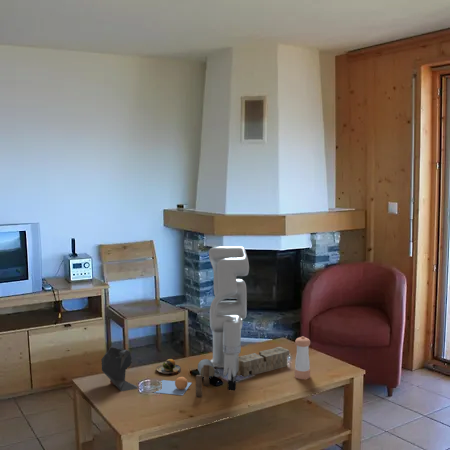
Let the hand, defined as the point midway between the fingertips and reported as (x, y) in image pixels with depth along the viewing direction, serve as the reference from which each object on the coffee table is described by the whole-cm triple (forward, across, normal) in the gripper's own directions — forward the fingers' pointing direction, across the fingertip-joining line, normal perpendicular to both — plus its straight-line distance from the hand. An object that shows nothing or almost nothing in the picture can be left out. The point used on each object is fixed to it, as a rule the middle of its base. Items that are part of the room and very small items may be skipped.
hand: (231, 389), depth 242 cm
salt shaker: (+2, -26, +28) cm, 38 cm away
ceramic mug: (+2, -17, -14) cm, 22 cm away
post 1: (+2, +6, -13) cm, 15 cm away
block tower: (+2, -31, +8) cm, 32 cm away
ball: (-1, +1, -23) cm, 23 cm away
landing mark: (+2, 0, -27) cm, 27 cm away
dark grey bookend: (+2, +2, -52) cm, 52 cm away
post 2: (+2, -6, -13) cm, 15 cm away
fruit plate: (+2, -19, -35) cm, 40 cm away
